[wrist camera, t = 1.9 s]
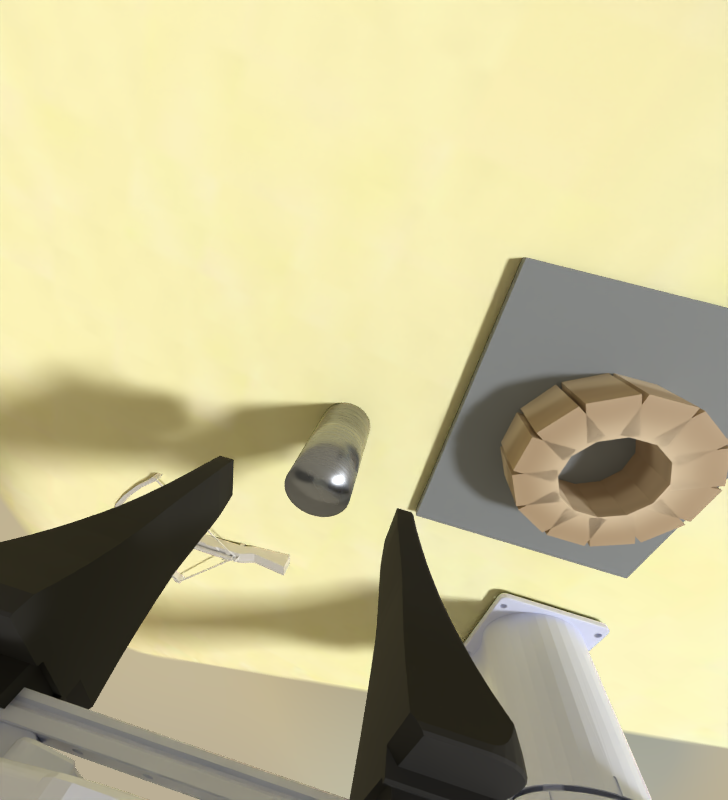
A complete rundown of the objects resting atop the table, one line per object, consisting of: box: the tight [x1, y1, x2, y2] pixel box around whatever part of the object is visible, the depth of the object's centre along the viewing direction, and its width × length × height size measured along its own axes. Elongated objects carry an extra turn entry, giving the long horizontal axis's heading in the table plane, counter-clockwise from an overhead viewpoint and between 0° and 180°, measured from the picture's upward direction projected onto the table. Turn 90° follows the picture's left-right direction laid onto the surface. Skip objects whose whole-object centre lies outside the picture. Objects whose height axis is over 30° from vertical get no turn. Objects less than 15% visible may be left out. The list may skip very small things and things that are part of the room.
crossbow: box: [115, 473, 290, 583], centre depth 26 cm, size 16×13×2 cm
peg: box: [285, 403, 370, 517], centre depth 16 cm, size 3×3×6 cm
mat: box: [416, 258, 728, 578], centre depth 17 cm, size 16×14×1 cm
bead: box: [500, 373, 728, 547], centre depth 15 cm, size 8×8×2 cm
